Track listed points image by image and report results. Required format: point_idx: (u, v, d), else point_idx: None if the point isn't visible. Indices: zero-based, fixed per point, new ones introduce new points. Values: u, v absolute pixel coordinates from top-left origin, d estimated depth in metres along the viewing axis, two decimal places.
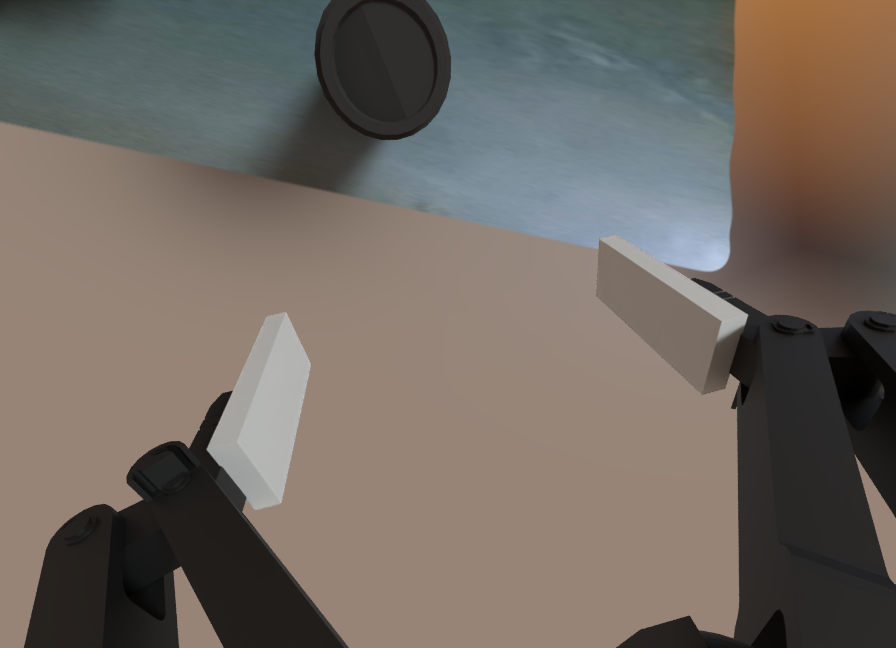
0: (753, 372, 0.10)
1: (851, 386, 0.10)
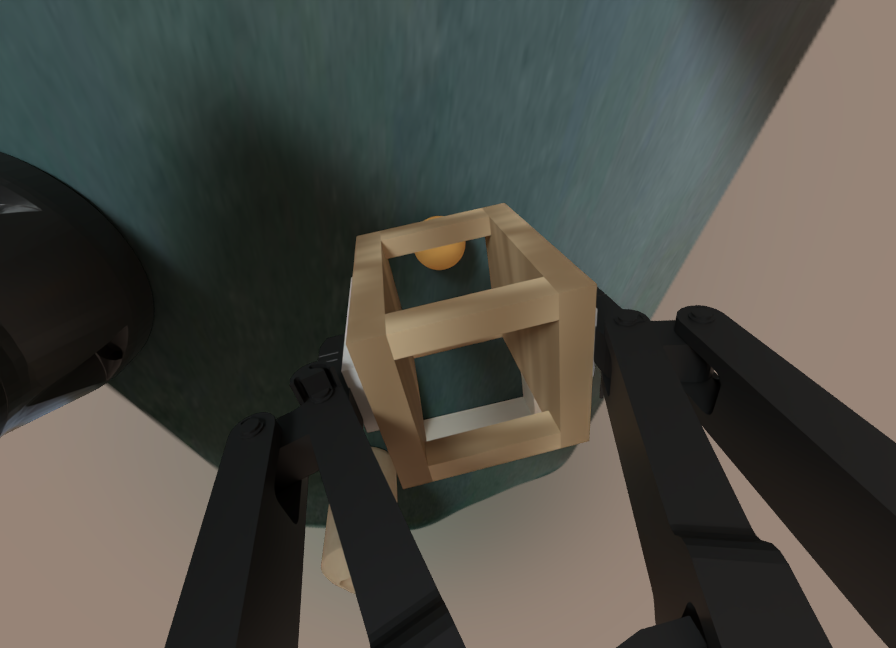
0: (609, 364, 0.12)
1: (681, 371, 0.11)
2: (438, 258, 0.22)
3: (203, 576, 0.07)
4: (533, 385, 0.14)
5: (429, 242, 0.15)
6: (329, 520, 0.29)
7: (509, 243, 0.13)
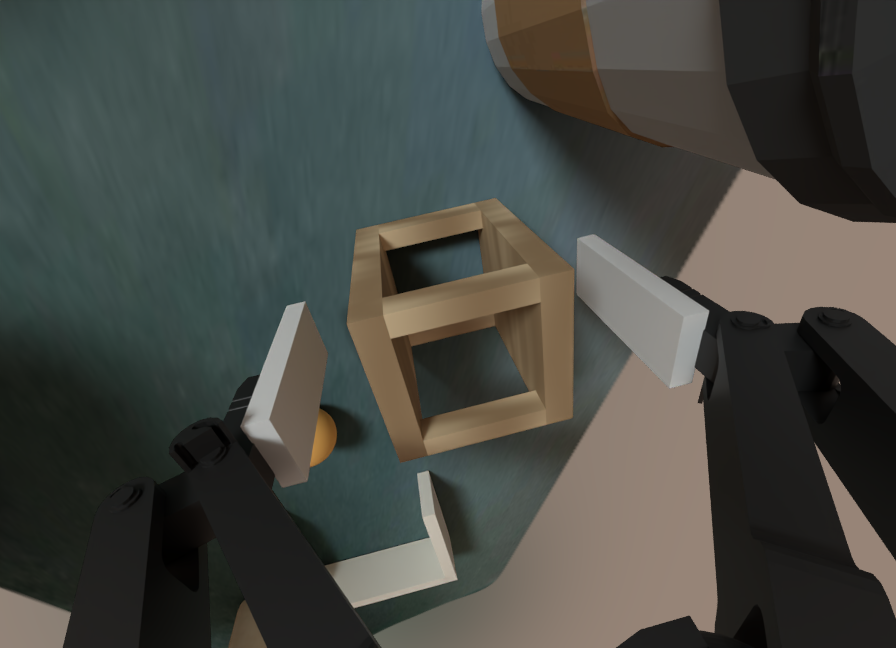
0: (716, 367, 0.11)
1: (805, 379, 0.10)
2: None
3: None
4: (522, 368, 0.15)
5: (424, 235, 0.16)
6: None
7: (498, 234, 0.14)
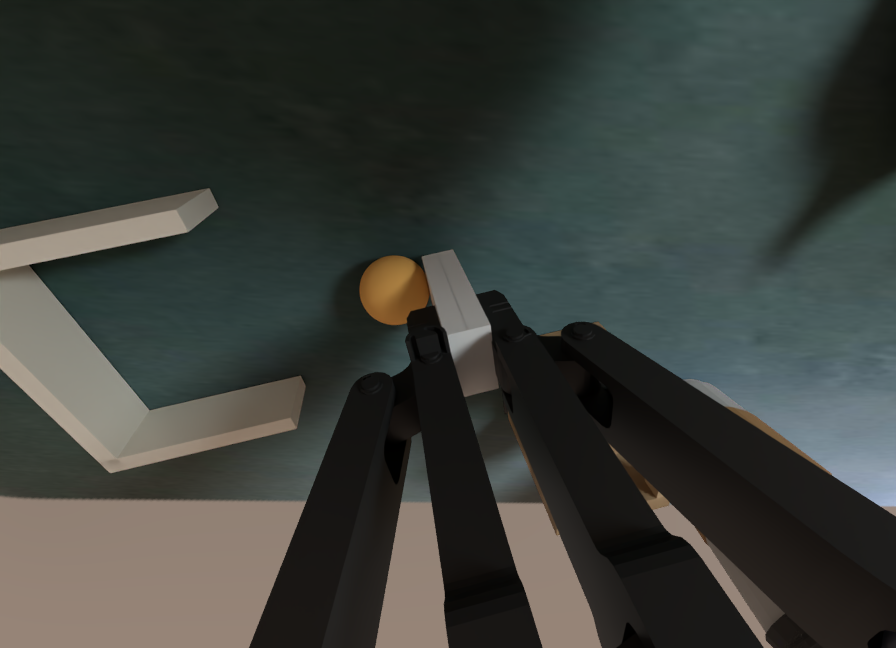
0: (507, 381, 0.12)
1: None
2: (377, 302, 0.16)
3: (318, 512, 0.08)
4: None
5: None
6: None
7: None
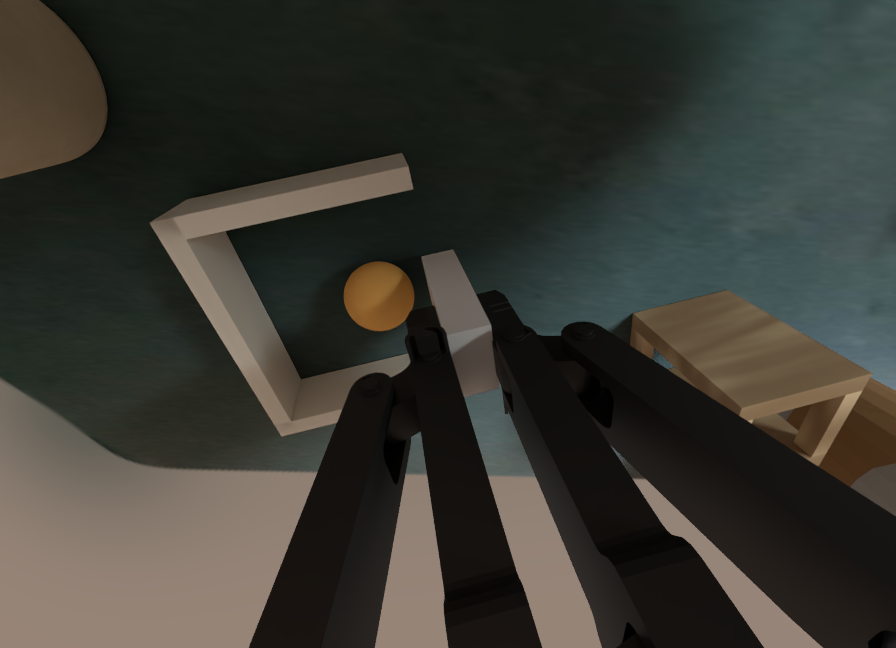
0: (508, 380, 0.12)
1: None
2: None
3: (317, 512, 0.08)
4: None
5: None
6: None
7: None
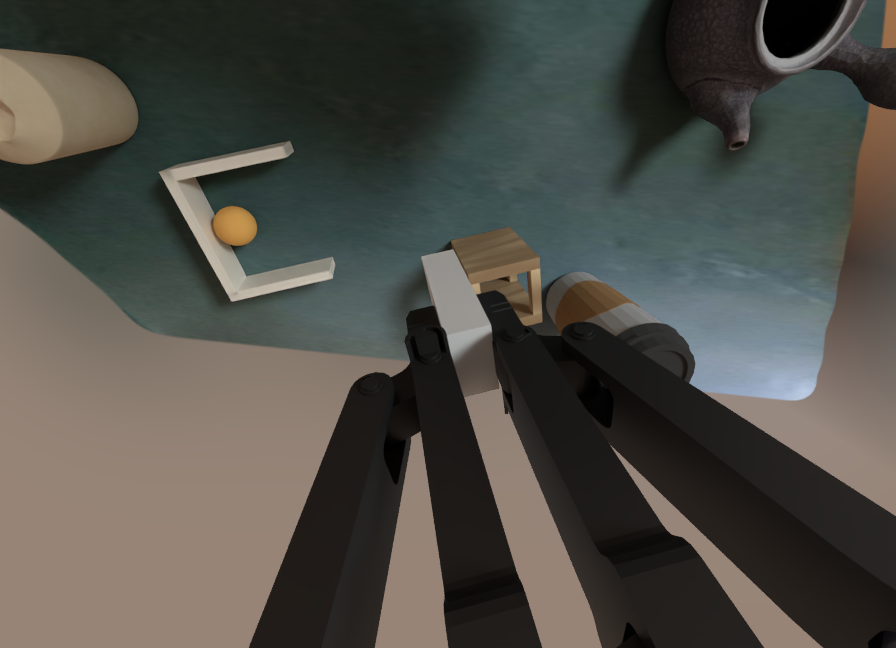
0: (508, 380, 0.12)
1: None
2: (237, 227, 0.31)
3: (317, 512, 0.08)
4: None
5: None
6: (43, 60, 0.22)
7: (524, 292, 0.37)
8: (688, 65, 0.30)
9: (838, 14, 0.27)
